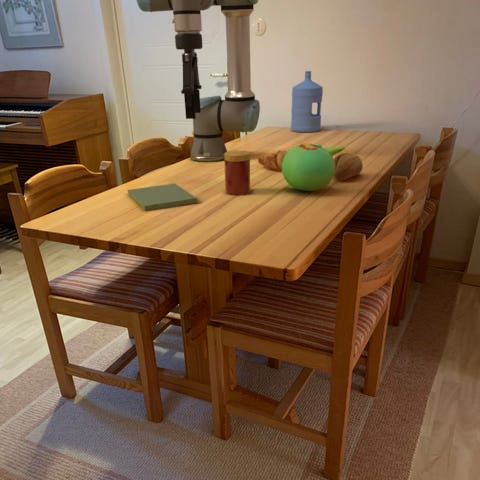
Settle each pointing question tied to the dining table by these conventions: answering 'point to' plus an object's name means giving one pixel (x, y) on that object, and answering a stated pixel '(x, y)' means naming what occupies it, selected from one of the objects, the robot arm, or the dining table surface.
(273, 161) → the croissant
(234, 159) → the jam lid
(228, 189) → the jam jar
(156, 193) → the corner board
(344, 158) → the bread roll
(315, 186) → the toy bird
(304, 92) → the water jug
